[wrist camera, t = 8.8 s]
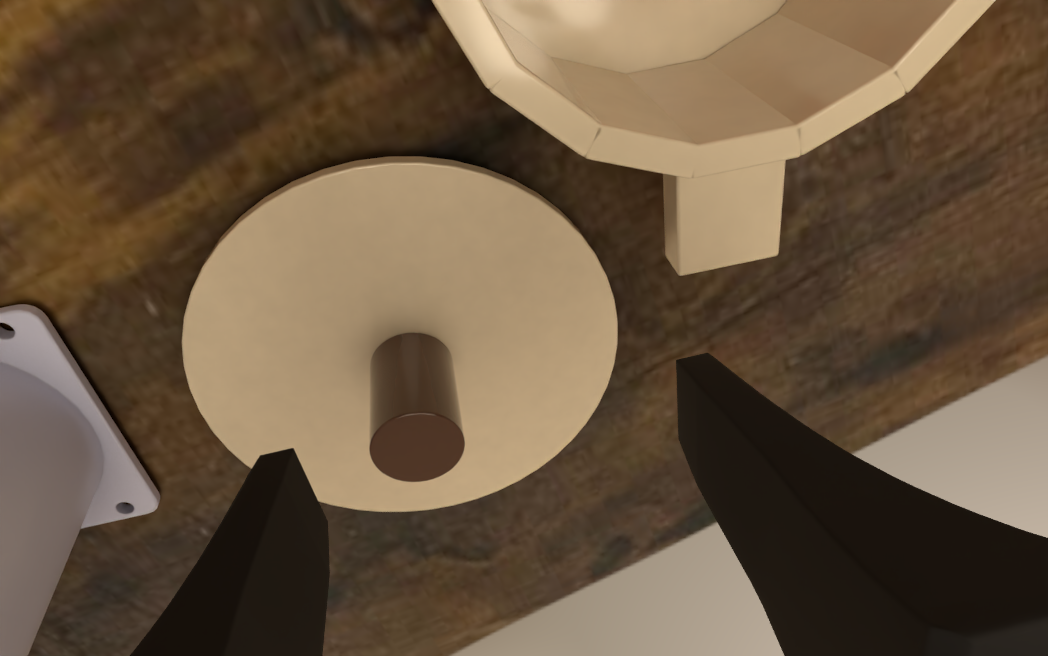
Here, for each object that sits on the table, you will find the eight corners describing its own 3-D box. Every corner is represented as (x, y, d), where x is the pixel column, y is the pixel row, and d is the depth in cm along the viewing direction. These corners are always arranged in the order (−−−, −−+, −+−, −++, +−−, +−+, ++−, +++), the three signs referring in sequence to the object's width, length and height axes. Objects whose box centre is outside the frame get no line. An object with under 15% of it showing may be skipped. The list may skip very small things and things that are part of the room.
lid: (274, 521, 25) (257, 641, 22) (109, 199, 18) (40, 295, 14) (620, 444, 26) (661, 548, 22) (591, 104, 19) (646, 173, 15)
